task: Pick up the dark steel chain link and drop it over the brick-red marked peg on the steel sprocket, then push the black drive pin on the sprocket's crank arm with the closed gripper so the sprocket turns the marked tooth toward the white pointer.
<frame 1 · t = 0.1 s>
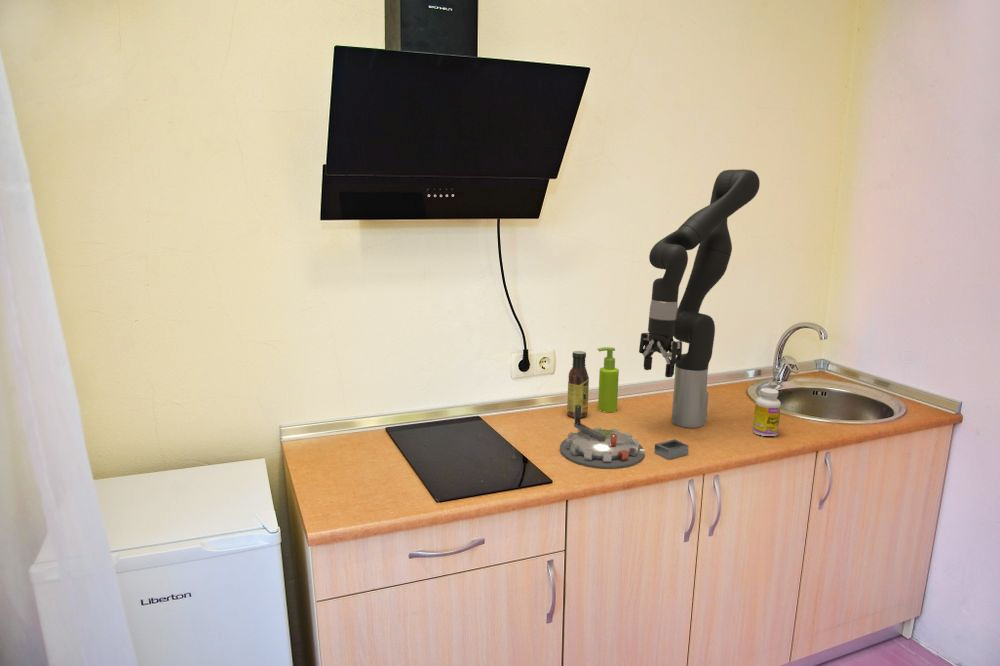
hand: (657, 373, 182), 17 cm above the worktop, tool pointing down, fingers open, 8 cm apart
sprocket base: (601, 451, 171), on the worktop
sprocket: (599, 431, 171), point 5 cm above the worktop, hinge at 0.0°
supplement bottle: (765, 434, 184), on the worktop
soap dispenser: (605, 410, 204), on the worktop
chain link: (671, 453, 170), on the worktop
sauce bottle: (577, 415, 198), on the worktop
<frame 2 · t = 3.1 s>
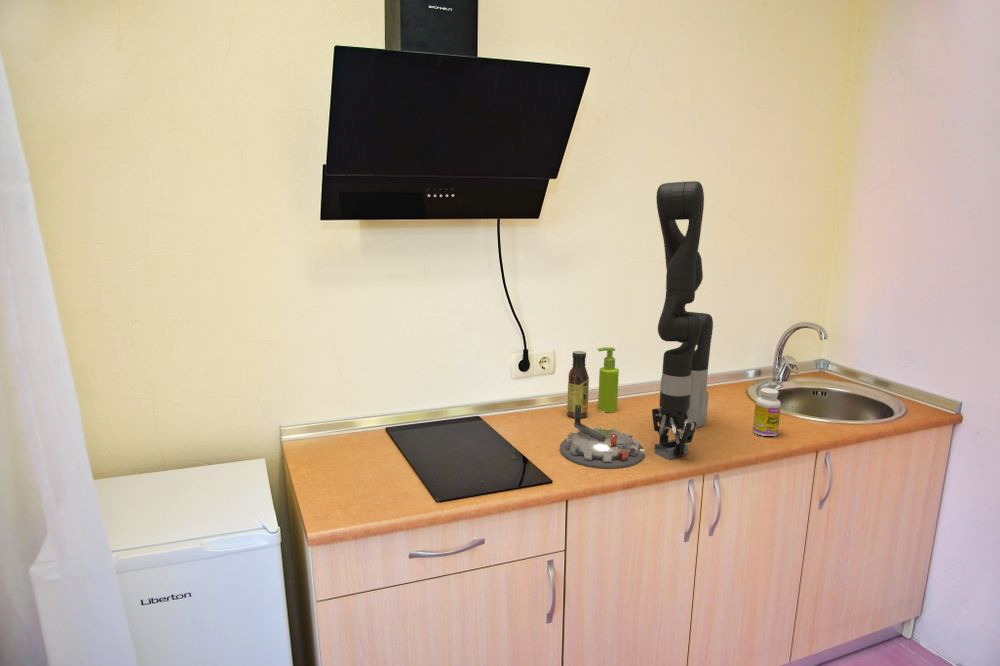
hand: (671, 452, 169), 0 cm above the worktop, tool pointing down, fingers closed on chain link, 5 cm apart
chain link: (671, 453, 170), on the worktop, touching gripper
everything else where it was.
when the fingers open (7 cm above the worktop, at t = 7.2 s): chain link drops 4 cm, resting on sprocket.
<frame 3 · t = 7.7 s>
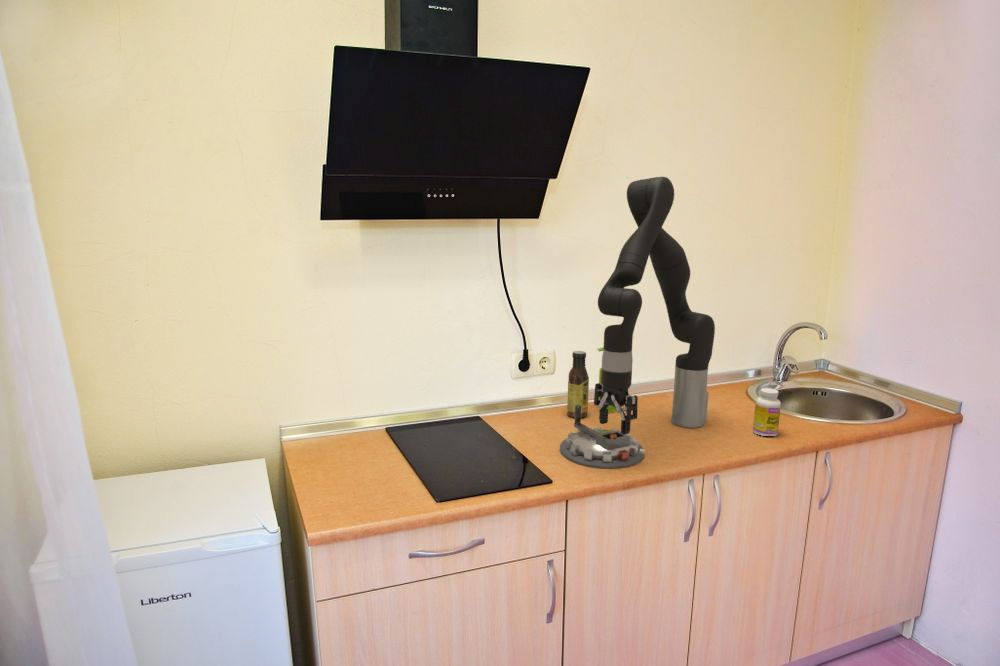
hand: (613, 428, 165), 8 cm above the worktop, tool pointing down, fingers open, 8 cm apart
sprocket: (599, 431, 171), point 5 cm above the worktop, hinge at 0.0°, touching chain link
chain link: (612, 444, 167), point 3 cm above the worktop, touching sprocket
everything else where it was.
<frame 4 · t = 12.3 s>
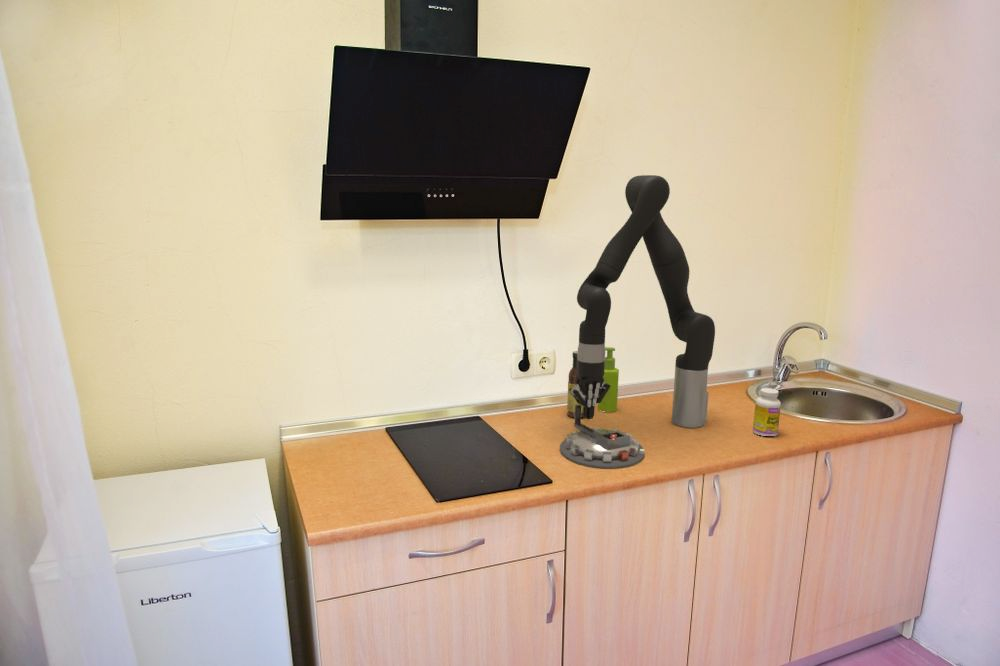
hand: (588, 418, 181), 5 cm above the worktop, tool pointing down, fingers closed
sprocket: (599, 431, 171), point 5 cm above the worktop, hinge at 0.0°, touching chain link, gripper
everything else where it was.
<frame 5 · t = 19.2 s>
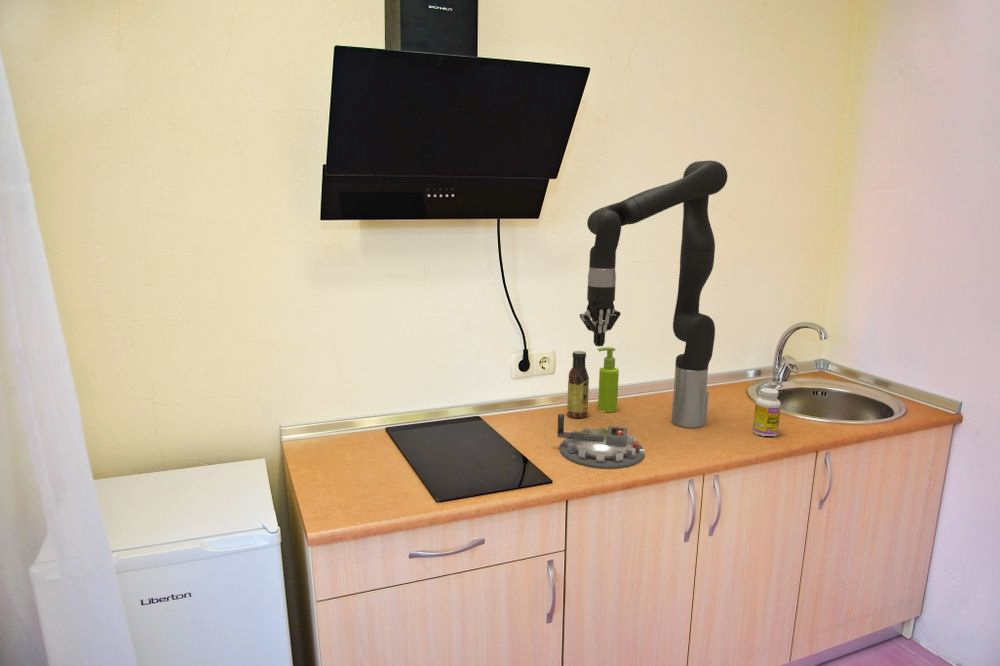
hand: (599, 345, 180), 25 cm above the worktop, tool pointing down, fingers closed
sprocket: (597, 432, 170), point 5 cm above the worktop, hinge at 49.3°, touching chain link
chain link: (616, 440, 170), point 3 cm above the worktop, touching sprocket
everything else where it was.
at the end: sprocket at +49° (first picture: +0°); chain link 1.3 cm from the target spot on the sprocket, point 3.1 cm above the sprocket's base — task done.
